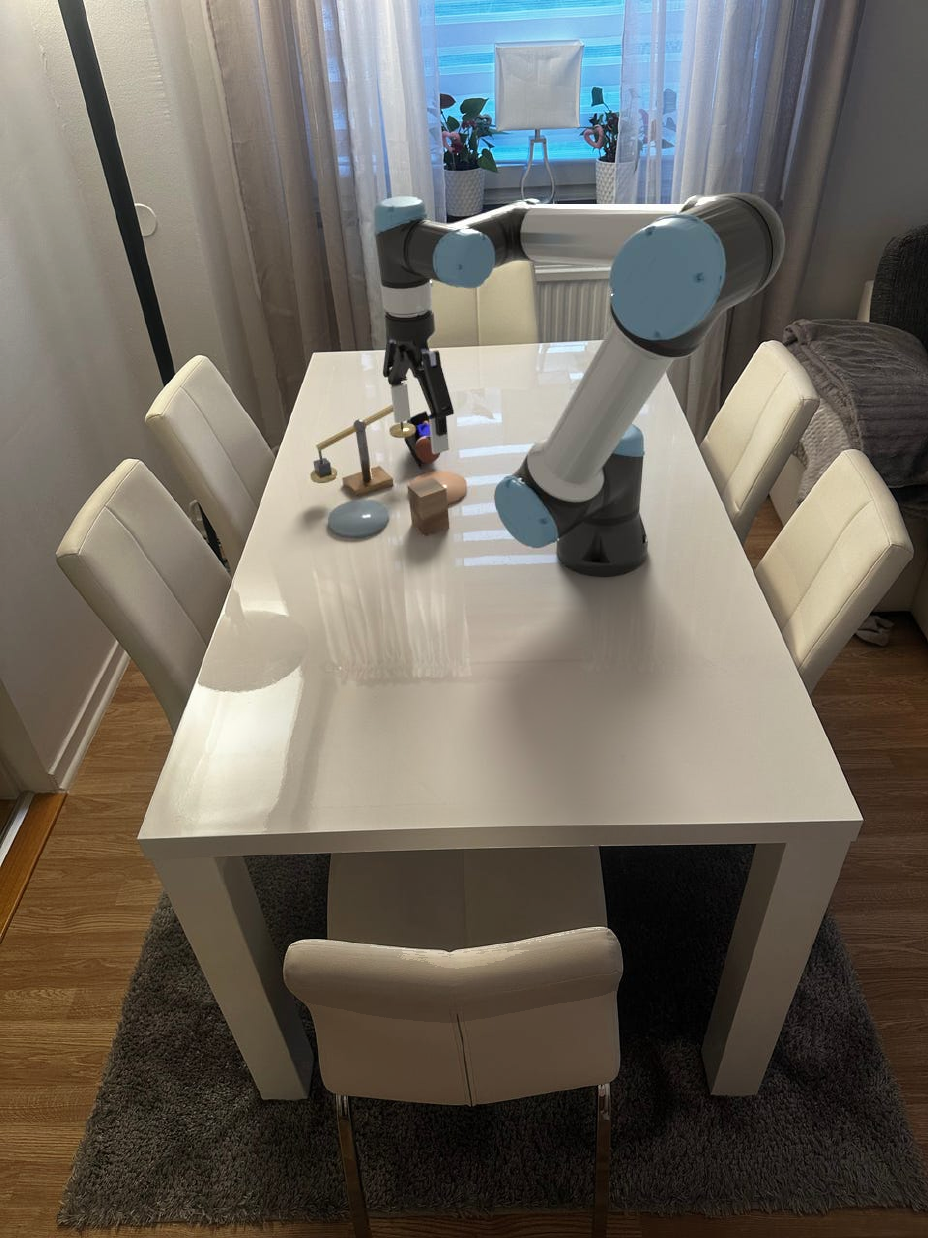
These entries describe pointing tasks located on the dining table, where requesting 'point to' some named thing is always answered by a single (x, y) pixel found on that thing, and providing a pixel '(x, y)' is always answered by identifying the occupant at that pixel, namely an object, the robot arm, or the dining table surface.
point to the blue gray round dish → (358, 518)
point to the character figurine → (421, 440)
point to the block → (428, 506)
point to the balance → (369, 476)
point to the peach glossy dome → (447, 483)
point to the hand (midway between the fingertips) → (420, 435)
